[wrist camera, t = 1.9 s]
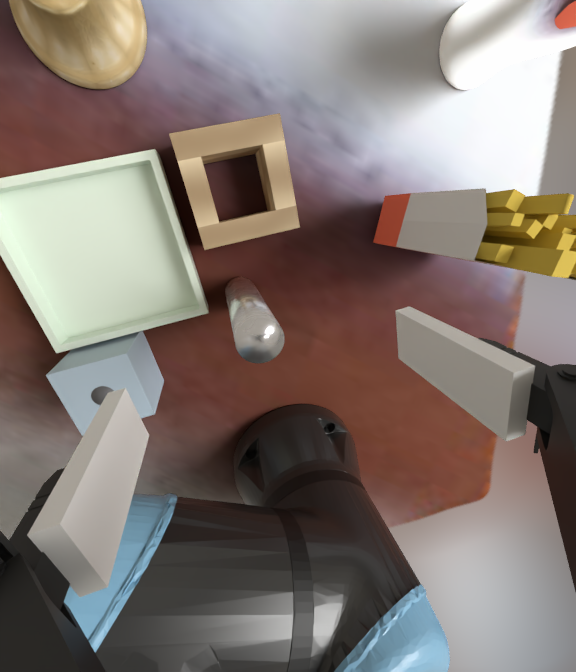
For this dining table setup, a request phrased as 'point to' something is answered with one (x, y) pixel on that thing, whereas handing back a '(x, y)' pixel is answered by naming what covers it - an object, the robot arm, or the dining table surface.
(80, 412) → the slate-blue block
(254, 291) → the cylinder
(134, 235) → the tray
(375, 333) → the dining table surface
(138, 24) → the hand bell
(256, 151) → the oak block
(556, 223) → the french fries container
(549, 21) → the beer glass
